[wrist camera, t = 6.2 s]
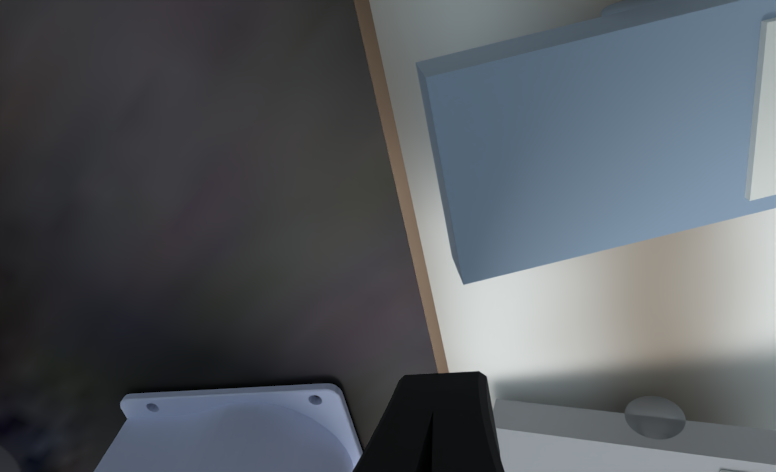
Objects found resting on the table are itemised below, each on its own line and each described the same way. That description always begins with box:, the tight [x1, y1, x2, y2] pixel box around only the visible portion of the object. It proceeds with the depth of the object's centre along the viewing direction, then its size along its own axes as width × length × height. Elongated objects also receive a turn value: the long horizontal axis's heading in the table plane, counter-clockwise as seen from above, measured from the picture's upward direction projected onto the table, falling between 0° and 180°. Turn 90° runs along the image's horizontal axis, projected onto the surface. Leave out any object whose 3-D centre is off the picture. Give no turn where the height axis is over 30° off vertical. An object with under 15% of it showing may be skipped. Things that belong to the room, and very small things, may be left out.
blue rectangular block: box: [416, 0, 776, 285], centre depth 11 cm, size 8×4×2 cm, turn 102°
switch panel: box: [354, 0, 776, 430], centre depth 16 cm, size 16×24×4 cm, turn 12°
